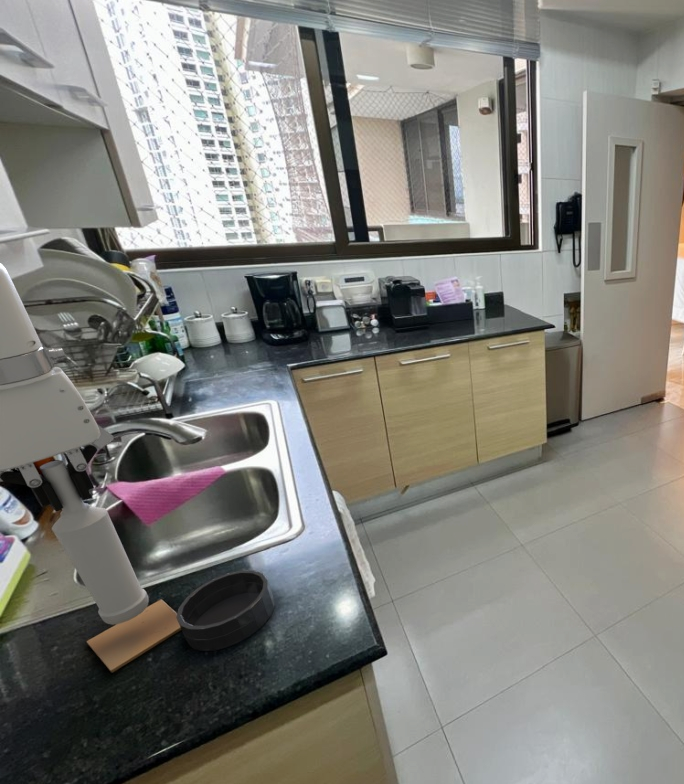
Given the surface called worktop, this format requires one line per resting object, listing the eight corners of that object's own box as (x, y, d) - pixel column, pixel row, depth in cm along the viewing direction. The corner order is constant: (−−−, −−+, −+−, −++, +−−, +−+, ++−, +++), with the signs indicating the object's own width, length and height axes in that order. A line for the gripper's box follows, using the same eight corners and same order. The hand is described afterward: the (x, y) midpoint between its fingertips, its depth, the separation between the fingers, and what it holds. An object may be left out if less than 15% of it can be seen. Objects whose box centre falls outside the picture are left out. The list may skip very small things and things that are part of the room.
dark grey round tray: (172, 630, 71) (161, 608, 69) (252, 580, 80) (244, 560, 78) (208, 665, 66) (198, 642, 64) (289, 608, 75) (282, 587, 73)
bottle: (94, 619, 67) (11, 470, 57) (137, 592, 71) (67, 450, 61) (115, 630, 65) (33, 479, 55) (158, 603, 69) (89, 458, 60)
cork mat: (87, 643, 68) (86, 641, 68) (162, 601, 76) (161, 599, 75) (112, 673, 64) (110, 670, 64) (188, 625, 71) (187, 622, 71)
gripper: (84, 345, 61) (136, 465, 68) (-124, 384, 48) (-33, 526, 56) (106, 355, 58) (159, 480, 65) (-110, 400, 45) (-15, 549, 52)
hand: (70, 500), depth 60 cm, fingers closed on bottle, 2 cm apart
